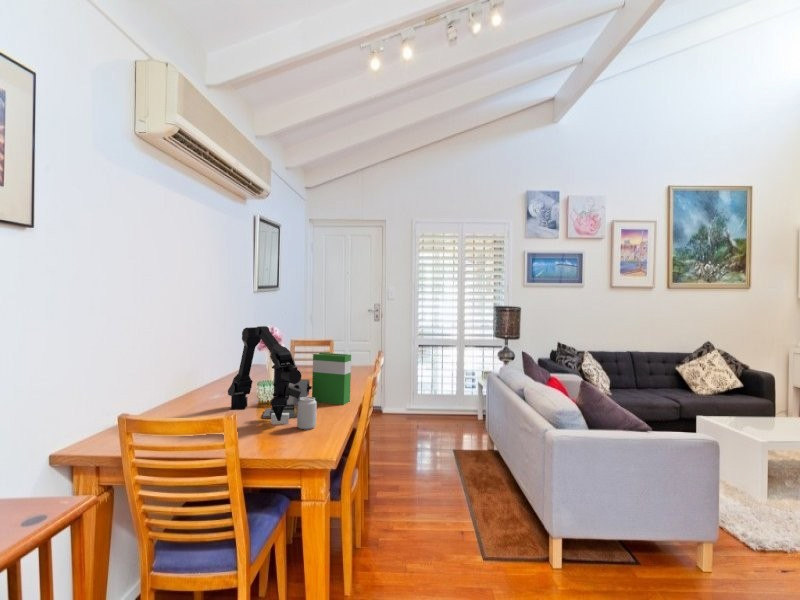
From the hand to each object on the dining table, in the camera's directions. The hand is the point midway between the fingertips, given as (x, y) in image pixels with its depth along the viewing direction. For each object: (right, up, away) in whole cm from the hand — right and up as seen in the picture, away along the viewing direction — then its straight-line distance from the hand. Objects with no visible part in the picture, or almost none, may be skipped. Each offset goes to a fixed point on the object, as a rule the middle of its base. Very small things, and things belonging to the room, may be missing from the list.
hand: (280, 417), depth 187 cm
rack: (-3, -2, +14) cm, 15 cm away
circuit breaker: (-1, -2, +36) cm, 36 cm away
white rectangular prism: (0, -2, 0) cm, 2 cm away
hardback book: (+15, -3, +41) cm, 44 cm away
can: (+12, -3, -5) cm, 14 cm away
